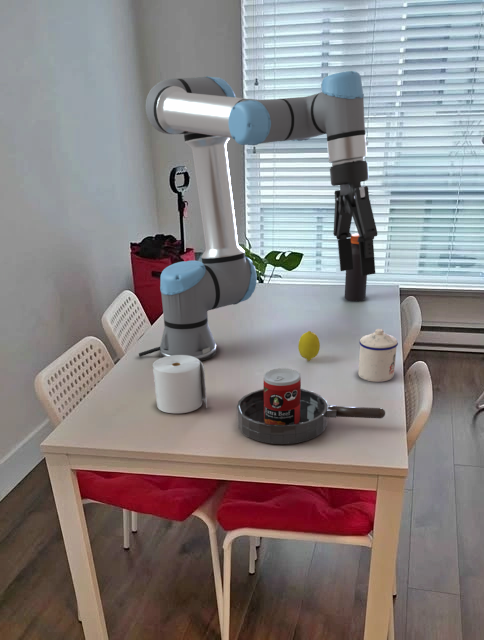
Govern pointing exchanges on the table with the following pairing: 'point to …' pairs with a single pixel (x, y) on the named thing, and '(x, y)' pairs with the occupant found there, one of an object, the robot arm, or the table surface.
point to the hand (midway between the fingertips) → (357, 272)
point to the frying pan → (306, 429)
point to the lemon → (309, 345)
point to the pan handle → (354, 412)
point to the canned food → (282, 396)
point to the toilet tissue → (179, 383)
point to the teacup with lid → (377, 356)
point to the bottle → (355, 275)
